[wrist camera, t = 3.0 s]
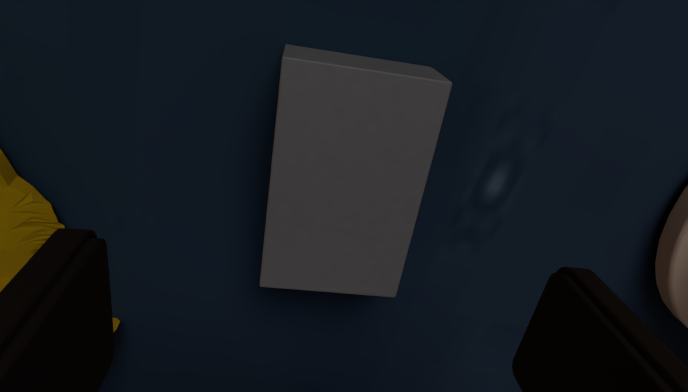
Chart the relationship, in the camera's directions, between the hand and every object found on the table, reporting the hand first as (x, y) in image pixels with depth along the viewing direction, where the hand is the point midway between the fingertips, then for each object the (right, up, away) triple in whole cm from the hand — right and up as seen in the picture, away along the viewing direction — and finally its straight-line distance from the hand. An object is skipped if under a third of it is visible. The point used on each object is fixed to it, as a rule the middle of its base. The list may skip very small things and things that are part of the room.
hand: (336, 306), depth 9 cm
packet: (0, +3, +7) cm, 8 cm away
